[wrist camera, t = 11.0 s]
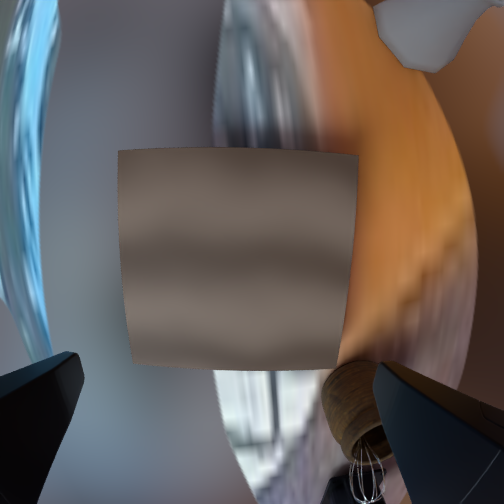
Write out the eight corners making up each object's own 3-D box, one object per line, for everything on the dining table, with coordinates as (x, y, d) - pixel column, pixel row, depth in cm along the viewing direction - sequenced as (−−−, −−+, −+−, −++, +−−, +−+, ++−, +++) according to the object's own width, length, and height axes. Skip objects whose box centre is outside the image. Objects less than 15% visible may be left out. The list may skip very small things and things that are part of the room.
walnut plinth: (327, 350, 23) (335, 368, 20) (142, 346, 22) (133, 363, 20) (345, 157, 19) (358, 155, 17) (132, 153, 19) (118, 150, 17)
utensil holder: (304, 391, 24) (336, 513, 12) (365, 341, 23) (437, 450, 11) (344, 421, 25) (383, 526, 13) (399, 378, 24) (464, 474, 12)
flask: (462, 69, 18) (546, 40, 8) (398, 81, 18) (485, 36, 9) (424, -4, 16) (489, -55, 6) (356, 0, 17) (411, -74, 7)
